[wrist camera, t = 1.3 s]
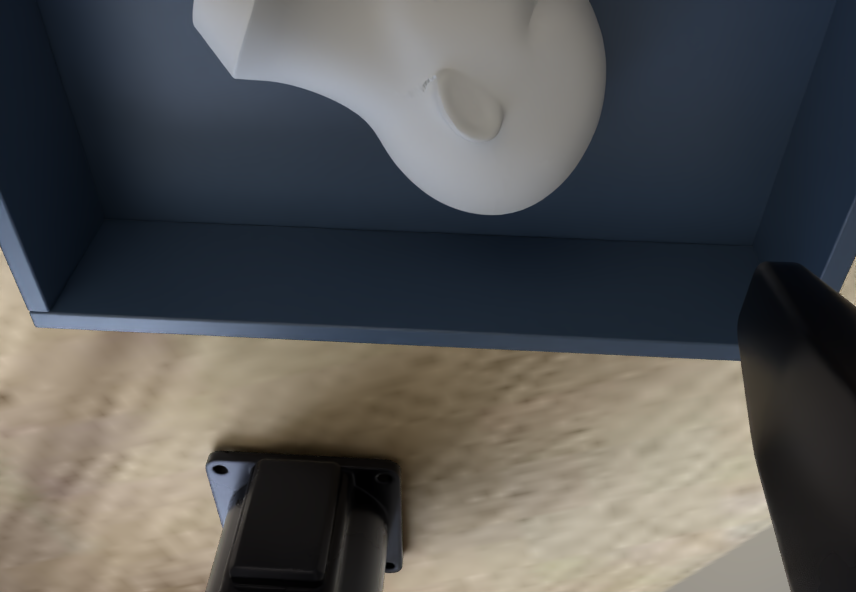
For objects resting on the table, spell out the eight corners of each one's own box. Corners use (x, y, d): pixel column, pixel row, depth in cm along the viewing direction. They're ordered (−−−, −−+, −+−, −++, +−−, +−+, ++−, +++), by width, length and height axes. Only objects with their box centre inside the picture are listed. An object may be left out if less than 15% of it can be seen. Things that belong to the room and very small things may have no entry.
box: (761, 249, 21) (806, 365, 18) (98, 221, 21) (34, 328, 18) (1010, -448, 12) (1180, -451, 9) (-122, -458, 13) (-311, -464, 10)
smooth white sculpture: (627, 10, 17) (488, 203, 19) (296, -246, 15) (167, 8, 16) (717, 51, 14) (535, 287, 15) (294, -283, 11) (126, 53, 12)
